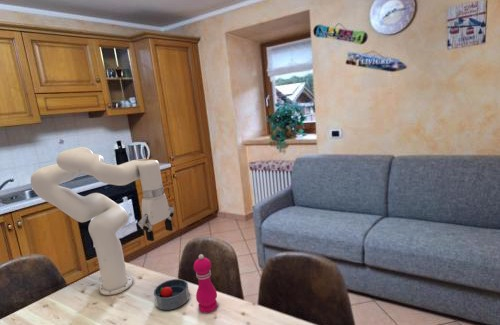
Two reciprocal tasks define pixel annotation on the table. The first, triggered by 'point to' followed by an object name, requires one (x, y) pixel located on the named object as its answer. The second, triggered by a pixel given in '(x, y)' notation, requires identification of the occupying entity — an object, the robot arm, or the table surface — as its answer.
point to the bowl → (178, 295)
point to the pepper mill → (205, 285)
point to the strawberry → (166, 292)
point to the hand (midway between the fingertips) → (160, 235)
